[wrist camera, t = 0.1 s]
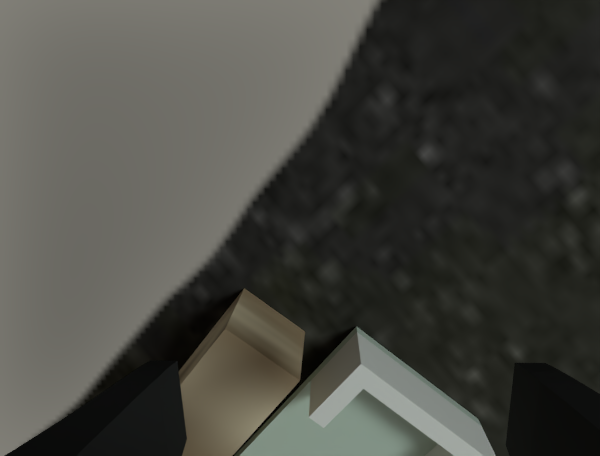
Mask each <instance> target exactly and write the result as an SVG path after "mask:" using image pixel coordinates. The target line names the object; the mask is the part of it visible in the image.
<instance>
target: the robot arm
mask: <svg viewBox="0 0 600 456" xmlns="http://www.w3.org/2000/svg"><path fill="white" fill-rule="evenodd" d="M186 440H187V435H186V427H185V419H184V411H183V403H182V395H181V387H180V379H179V371H178V362H177V361H149V362H147V363H146V364H144V365H142V366H141V367H139V368H137V369H136V370H134V371H133V372H131V373H130V374H128V375H127V376H125V377H124V378H123V379H121V380H120V381H118V382H117V383H115V384H114V385H112V386H111V387H109V388H108V389H107V390H105V391H104V392H102V393H101V394H99V395H98V396H96V397H95V398H93V399H92V400H91V401H89V402H88V403H86V404H85V405H83V406H82V407H80V408H79V409H77V410H76V411H74V412H73V413H71V414H70V415H68V416H67V417H65V418H64V419H62V420H61V421H59V422H58V423H56V424H54V425H53V426H51V427H50V428H48V429H47V430H45V431H43V432H42V433H40V434H39V435H37V436H36V437H34V438H32V439H31V440H29V441H28V442H26V443H25V444H23V445H21V446H20V447H18V448H17V449H15V450H13V451H12V452H10V453H8V454H7V455H5V456H182V454H183V451H184V447H185V444H186ZM506 447H507V450H508V452H509V455H510V456H600V394H599V393H597V392H595V391H594V390H592V389H590V388H589V387H587V386H585V385H584V384H582V383H580V382H579V381H577V380H575V379H574V378H572V377H570V376H568V375H567V374H565V373H563V372H561V371H560V370H558V369H556V368H554V367H552V366H550V365H548V364H546V363H515V367H514V376H513V385H512V394H511V403H510V412H509V421H508V430H507V439H506Z"/></svg>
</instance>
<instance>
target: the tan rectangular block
mask: <svg viewBox="0 0 600 456" xmlns="http://www.w3.org/2000/svg"><path fill="white" fill-rule="evenodd" d="M304 337H305V331H303V330H302V329H300V328H299V327H298V326H296V325H295V324H293V323H292V322H291V321H289V320H288V319H286V318H285V317H284V316H282V315H281V314H279V313H278V312H277V311H275V310H274V309H273V308H271V307H270V306H268V305H267V304H266V303H264V302H263V301H261V300H260V299H259V298H257V297H256V296H254V295H253V294H252V293H250V292H249V291H247V290H246V289H245V288H244V289H243V290H242V292H241V293H240V294H239V296H238V297H237V298H236V299H235V301H234V302H233V303H232V304H231V306H230V307H229V308H228V309H227V311H226V312H225V313H224V315H223V316H222V317H221V318H220V320H219V321H218V322H217V323H216V325H215V326H214V327H213V329H212V330H211V331H210V332H209V334H208V335H207V336H206V337H205V339H204V340H203V341H202V342H201V344H200V345H199V346H198V348H197V349H196V350H195V351H194V353H193V354H192V355H191V356H190V358H189V359H188V360H187V362H186V363H185V364H184V365H183V367H182V368H181V369H180V370H179V379H180V387H181V395H182V403H183V411H184V419H185V427H186V435H187V440H186V444H185V447H184V451H183V454H182V456H233V455H234V454H235V453H236V451H237V450H238V449H239V448H240V447H241V446H242V445H243V444H244V442H245V441H246V440H247V439H248V438H249V437H250V436H251V435H252V434H253V432H254V431H255V430H256V429H257V428H258V427H259V426H260V425H261V424H262V422H263V421H264V420H265V419H266V418H267V417H268V416H269V415H270V414H271V412H272V411H273V410H274V409H275V408H276V407H277V406H278V405H279V404H280V402H281V401H282V400H283V399H284V398H285V397H286V396H287V395H288V394H289V392H290V391H291V390H292V389H293V388H294V387H295V386H296V385H297V384H298V382H299V381H300V376H301V366H302V356H303V347H304Z"/></svg>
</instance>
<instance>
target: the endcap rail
mask: <svg viewBox="0 0 600 456" xmlns="http://www.w3.org/2000/svg"><path fill="white" fill-rule="evenodd" d="M234 456H496V455H495V453H494V451H493V449H492V447H491V445H490V443H489V441H488V439H487V437H486V435H485V433H484V431H483V428H482V426H481V424H480V422H479V420H478V419H477V418H476V417H475V416H473V415H472V414H471V413H470V412H468V411H467V410H466V409H464V408H463V407H462V406H460V405H459V404H458V403H456V402H455V401H454V400H452V399H451V398H450V397H448V396H447V395H446V394H445V393H443V392H442V391H441V390H439V389H438V388H437V387H435V386H434V385H433V384H431V383H430V382H429V381H427V380H426V379H425V378H423V377H422V376H421V375H420V374H418V373H417V372H416V371H414V370H413V369H412V368H410V367H409V366H408V365H406V364H405V363H404V362H402V361H401V360H400V359H398V358H397V357H396V356H395V355H393V354H392V353H391V352H389V351H388V350H387V349H385V348H384V347H383V346H381V345H380V344H379V343H377V342H376V341H375V340H373V339H372V338H371V337H370V336H368V335H367V334H366V333H364V332H363V331H362V330H360V329H359V328H358V327H355V328H354V330H353V331H352V332H351V333H350V334H349V335H348V336H347V337H346V338H345V339H344V340H343V341H342V342H341V343H340V344H339V345H338V346H337V347H336V349H335V350H334V351H333V352H332V353H331V354H330V355H329V356H328V357H327V358H326V359H325V360H324V361H323V362H322V363H321V364H320V365H319V367H318V368H317V369H316V370H315V371H314V372H313V373H312V374H311V375H310V376H309V377H308V378H307V379H306V380H305V381H304V382H303V383H302V385H301V386H300V387H299V388H298V389H297V390H296V391H295V392H294V393H293V394H292V395H291V396H290V397H289V398H288V399H287V400H286V401H285V402H284V404H283V405H282V406H281V407H280V408H279V409H278V410H277V411H276V412H275V413H274V414H273V415H272V416H271V417H270V418H269V419H268V420H267V422H266V423H265V424H264V425H263V426H262V427H261V428H260V429H259V430H258V431H257V432H256V433H255V434H254V435H253V436H252V437H251V438H250V440H249V441H248V442H247V443H246V444H245V445H244V446H243V447H242V448H241V449H240V450H239V451H238V452H237V453H236V454H235V455H234Z"/></svg>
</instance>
